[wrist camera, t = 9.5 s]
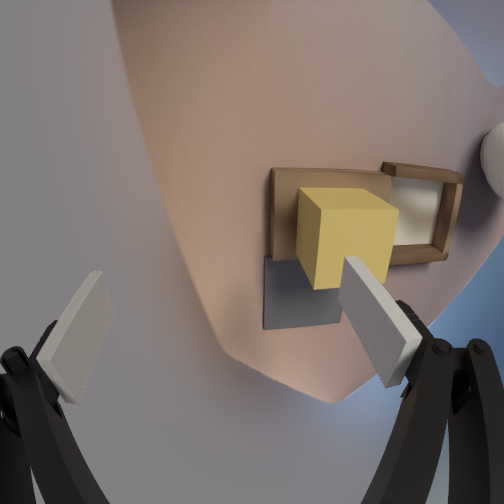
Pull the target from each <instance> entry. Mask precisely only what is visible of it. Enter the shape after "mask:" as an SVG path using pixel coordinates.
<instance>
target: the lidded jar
mask: <svg viewBox="0 0 504 504" xmlns="http://www.w3.org/2000/svg"><path fill="white" fill-rule="evenodd" d="M480 162H481V166H482V170H483V172H484V173H485V176H486V179H487V181H488V183H489V185H490V187H491V188H492V189H493V191H494V192H495V193H496V194H497V195H498V196H499V197H500V198H501V199H502V200H503V201H504V122H502V123H500V124H498V125H496V126H495V127H494V128H493V129H492V130H491V131H490V132H489V133H488V134H487V135H486V136H485V138H484V140H483V142H482V145H481V150H480Z"/></svg>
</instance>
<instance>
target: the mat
mask: <svg viewBox="0 0 504 504" xmlns="http://www.w3.org/2000/svg"><path fill="white" fill-rule="evenodd" d="M339 290H340V288H328V289H317V290H314V289H313V287H312V285H311V283H310V281H309V279H308V277H307V275H306V273H305V271H304V269H303V267H302V265H301V263H300V261H299V260H283V261H273V259H272V256H265V281H264V330H268V329H281V328H292V327H302V326H312V325H321V324H330V323H338V322H340V319H341V314H342V309H343V308H342V306H341V304H340V303H339V301H338V296H339Z"/></svg>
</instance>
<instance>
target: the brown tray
mask: <svg viewBox="0 0 504 504" xmlns="http://www.w3.org/2000/svg"><path fill="white" fill-rule="evenodd" d="M463 182H464V175H462V174H459V173H457V172H454V171H451V170H446V169H440V168H433V167H426V166H418V165H410V164H401V163H392V162H383V171H382V172H381V171H367V170H349V169H324V168H271V228H270V253H271V256H272V259H273V261H283V260H299V259H298V257H297V255H296V239H297V221H298V200H299V188H358V189H365V190H367V191H369V192H370V193H372V194H374V195H375V196H377V197H379V198H380V199H382V200H384V201H385V202H387V203H389V204H390V205H392V206H394V207H395V208H397V209H398V210H399V214H398V220H397V226H396V232H395V237H394V243H393V248H392V253H391V257H390V262H389V265H401V264H412V263H423V262H434V261H445V260H447V257H448V254H449V250H450V246H451V242H452V238H453V234H454V230H455V225H456V221H457V216H458V211H459V206H460V200H461V194H462V188H463Z"/></svg>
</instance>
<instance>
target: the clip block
mask: <svg viewBox="0 0 504 504" xmlns="http://www.w3.org/2000/svg"><path fill="white" fill-rule="evenodd" d="M398 214H399V210H398V209H397V208H395V207H394V206H392V205H390V204H389V203H387V202H385V201H384V200H382V199H380V198H379V197H377V196H375V195H374V194H372V193H370V192H369V191H367V190H365V189H358V188H299V200H298V221H297V239H296V255H297V257H298V259H299V261H300V263H301V265H302V267H303V269H304V271H305V273H306V275H307V277H308V279H309V281H310V283H311V285H312V287H313V289H314V290H317V289H328V288H340V284H341V277H342V270H343V263H344V257H348V256H358V257H359V258H360V260H361V261H362V262H363V263H364V264H365V265H366V267H367V268H368V269H369V270H370V271H371V273H372V274H373V275H374V276H375V277H376V279H377V280H378V281H379V282H380V283H385V280H386V275H387V271H388V267H389V262H390V257H391V253H392V248H393V243H394V237H395V232H396V226H397V220H398Z"/></svg>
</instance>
